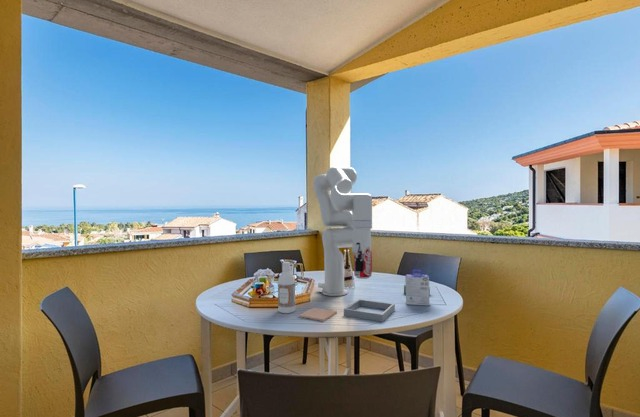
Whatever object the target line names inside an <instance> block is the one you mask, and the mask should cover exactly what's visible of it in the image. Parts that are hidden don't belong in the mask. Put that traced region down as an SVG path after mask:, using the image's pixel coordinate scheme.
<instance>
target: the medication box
mask: <svg viewBox="0 0 640 417" xmlns="http://www.w3.org/2000/svg"><path fill="white" fill-rule="evenodd" d="M430 293H431V287H430V286H429V296H430V295H431V294H430ZM403 295H406V284H404V285H403Z"/></svg>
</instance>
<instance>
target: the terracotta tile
mask: <svg viewBox="0 0 640 417" xmlns="http://www.w3.org/2000/svg"><path fill="white" fill-rule="evenodd" d="M336 314H338V312H337V310H331V309H324V308H317V307H311V308H310V309H307V310H305V311H303V312H302V313H300V314H298V318H300V317H305V318H304V319H306V318H310V319H309V320H311V319H316V320H315V321H317V320H321V321H320V322H323V321H324V322H326V321H328V320H329V319H330V318H333V316H336ZM328 318H329V319H328ZM325 320H326V321H325Z"/></svg>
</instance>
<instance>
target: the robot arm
mask: <svg viewBox="0 0 640 417" xmlns="http://www.w3.org/2000/svg"><path fill="white" fill-rule="evenodd" d="M357 176H358V175H357V172H356V170H355V169H354V168H353V167H350V166H332V167H330V168H329V169H328V170H326V173H322V174H321V173H320V174H318V175H316V176H314V178H313V182H312V186H313V188H312V189H313V192H314V194H315V197H316V199H317V202H318V205H319V211H320V217H321V221H322V225H323V226H324V227H326V228H327V229H325V230H324V231H323V232H322V235H321V237H322V238H321V239H322V245H323V256H324V257H323V258H324V263H323V264H324V283H323V282H318V284H317V287H318V288H320V289H321V288H322V290H321V294H322V295H324V296H329V297H341V296H345V295H347V294H348V289H346V288H345V258H344V257H345V256H344V254H343V253H342V251H341V250H340V248H351V252H352V254H353V256H354V255H355V271H361V272H363V271H364V264H363V254H365V252H366V250H367V248H369V247H370V250H371V251H372V231H371V229H373V198H372V197H373V196H372V195H371V194H370V193H350V192H351V190H352V189H353V185H355V183H356V181H357V178H358V177H357ZM328 191H330V192H328ZM359 251H361V253H358V252H359ZM360 255H361V257H360Z"/></svg>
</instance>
